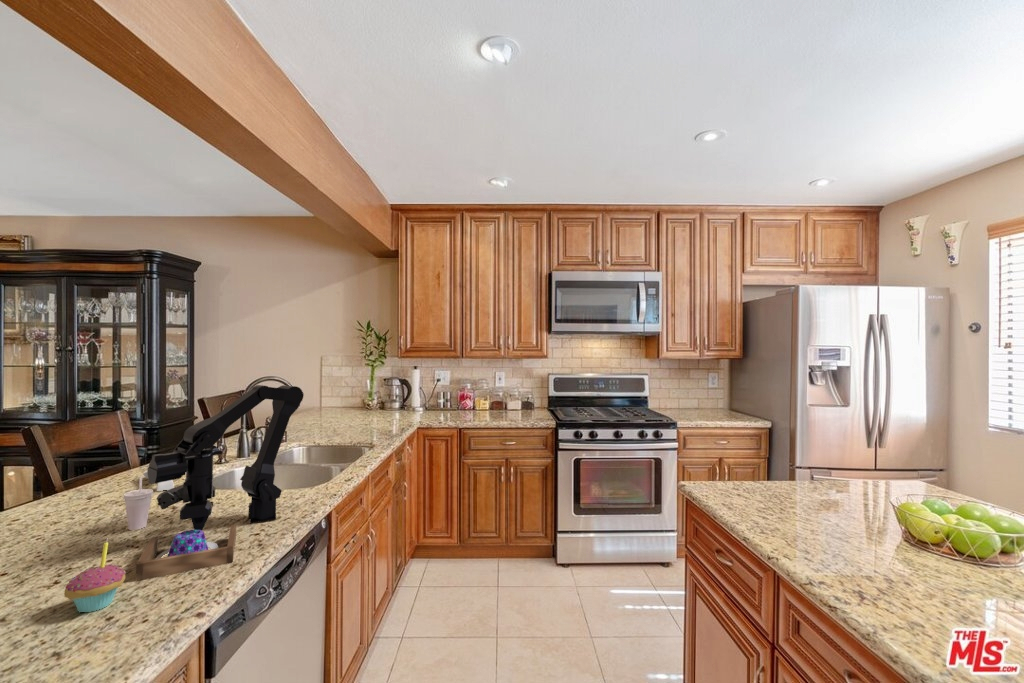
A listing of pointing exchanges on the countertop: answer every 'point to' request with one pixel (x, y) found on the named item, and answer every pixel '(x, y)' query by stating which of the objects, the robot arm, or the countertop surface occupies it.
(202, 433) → the robot arm
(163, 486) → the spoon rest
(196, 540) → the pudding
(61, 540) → the countertop surface
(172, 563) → the bay
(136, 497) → the smoothie
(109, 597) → the cupcake
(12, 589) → the countertop surface
